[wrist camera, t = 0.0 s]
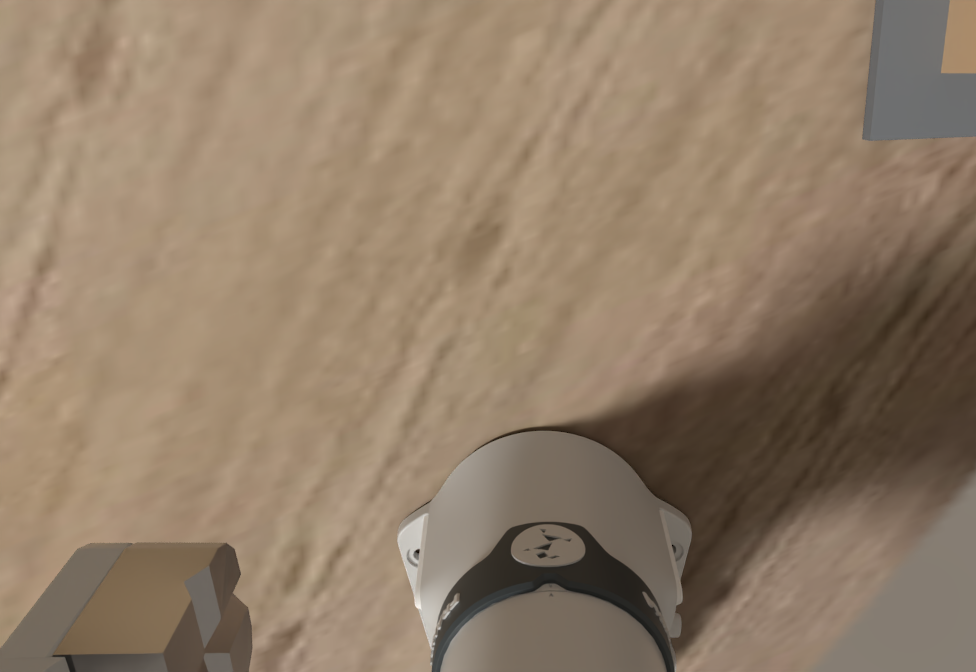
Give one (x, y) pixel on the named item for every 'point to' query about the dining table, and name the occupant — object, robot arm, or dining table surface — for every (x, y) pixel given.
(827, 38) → the dining table surface
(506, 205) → the dining table surface
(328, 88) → the dining table surface
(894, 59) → the collar stand
